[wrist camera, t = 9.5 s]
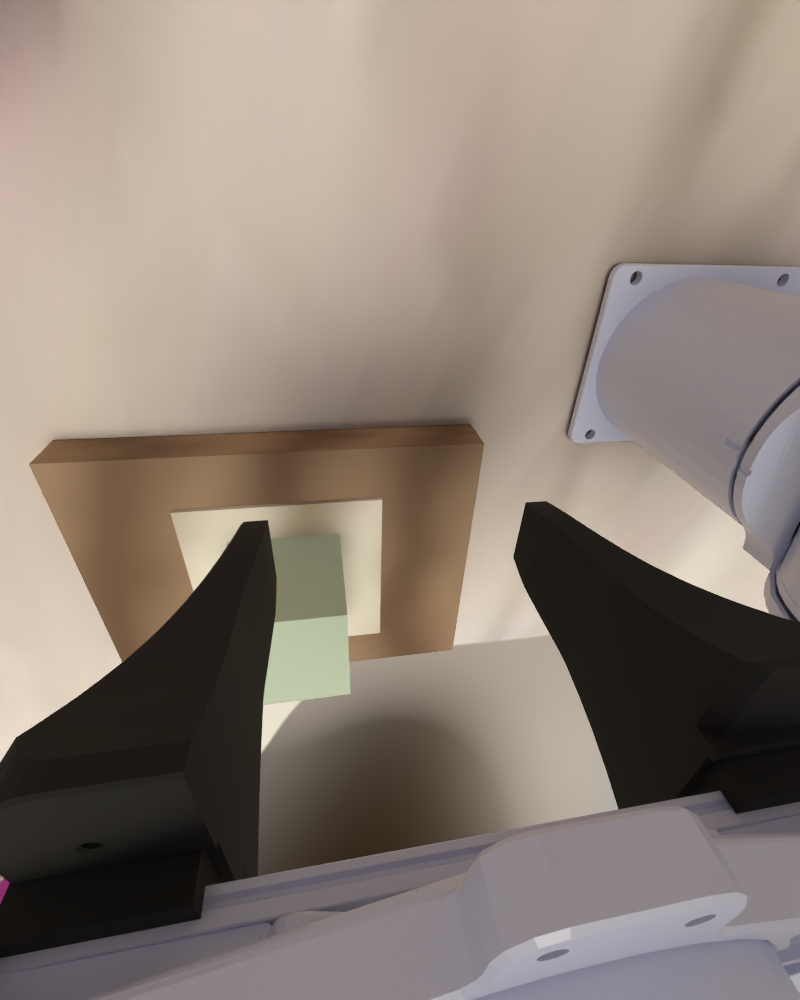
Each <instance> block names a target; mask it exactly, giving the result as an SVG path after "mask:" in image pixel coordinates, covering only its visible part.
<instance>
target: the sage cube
mask: <svg viewBox="0 0 800 1000" xmlns="http://www.w3.org/2000/svg"><path fill="white" fill-rule="evenodd" d="M229 543H230V542H227V546H228V544H229ZM271 543H272V550H273V557H274V563H275V570H276V576H277V590H276V614H275V621H274V628H273V635H272V642H271V649H270V655H269V662H268V669H267V676H266V682H265V690H264V699H263V705H267V704H275V703H283V702H291V701H298V700H306V699H313V698H322V697H329V696H337V695H345V694H350V672H349V645H348V619H347V606H346V596H345V585H344V575H343V564H342V554H341V544H340V534H328V535H314V536H301V537H287V538H273V539H271ZM227 546H226V547H227Z"/></svg>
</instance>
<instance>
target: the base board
mask: <svg viewBox="0 0 800 1000" xmlns="http://www.w3.org/2000/svg"><path fill="white" fill-rule="evenodd" d="M483 446H484V443H483V442H482V440H481V439H480V437H479V436H478V434H477V433H476V431H475V430H474V428H473V427H472V426H471V424H468V425H442V426H416V427H390V428H364V429H338V430H312V431H286V432H260V433H234V434H208V435H182V436H156V437H130V438H104V439H78V440H53V441H52V442H51V443H50V444H49V445H48V446H47V447H46V448H45V449H44V450H43V451H42V452H41V453H40V454H39V455H38V456H37V457H36V458H35V459H34V460H33V461H32V462H31V463H30V464H29V465H30V467H31V469H32V472H33V474H34V476H35V478H36V480H37V482H38V484H39V486H40V489H41V491H42V493H43V495H44V497H45V499H46V501H47V503H48V505H49V508H50V510H51V512H52V514H53V516H54V518H55V520H56V522H57V524H58V527H59V529H60V531H61V533H62V535H63V537H64V539H65V541H66V544H67V546H68V548H69V550H70V552H71V554H72V556H73V558H74V560H75V563H76V565H77V567H78V569H79V571H80V573H81V575H82V577H83V580H84V582H85V584H86V586H87V588H88V590H89V592H90V594H91V596H92V599H93V601H94V603H95V605H96V607H97V609H98V611H99V613H100V615H101V618H102V620H103V622H104V624H105V626H106V628H107V630H108V632H109V635H110V637H111V639H112V641H113V643H114V645H115V647H116V649H117V651H118V654H119V656H120V658H121V660H122V662H123V661H125V660H126V659H127V658H128V657H129V656H130V655H131V654H133V653H134V652H135V651H136V650H137V649H138V648H139V647H141V646H142V645H143V644H144V643H145V642H146V641H147V640H148V639H149V638H150V637H151V636H152V635H154V634H155V633H156V632H157V631H158V630H159V629H160V628H161V627H162V626H163V625H164V624H165V623H166V622H167V621H168V620H169V619H170V618H171V616H172V615H173V614H174V613H175V612H176V611H177V610H178V609H179V608H180V607H181V606H182V604H183V603H184V602H185V601H186V600H187V599H188V597H189V596H190V595H191V594H192V593H193V591H194V590H195V589H196V588H197V587H198V585H199V584H200V583H201V582H202V580H203V579H204V578H205V577H206V575H207V574H208V573H209V571H210V570H211V569H212V567H213V566H214V564H215V563H216V562H217V560H218V559H219V558H220V556H221V555H222V553H223V552H224V550H225V549H226V546H227V542H230V541H231V540H232V538H233V536H234V535H235V533H236V532H237V530H238V528H239V527H240V525H241V524H242V523H243V522H247V521H262V520H268V524H269V530H270V537H271V539H273V538H287V537H301V536H314V535H328V534H340V544H341V554H342V564H343V575H344V585H345V596H346V606H347V619H348V645H349V662H352V661H360V660H369V659H377V658H386V657H395V656H403V655H411V654H420V653H429V652H437V651H445V650H452V648H453V641H454V635H455V628H456V622H457V615H458V609H459V602H460V596H461V589H462V583H463V576H464V570H465V563H466V557H467V550H468V544H469V537H470V531H471V524H472V518H473V511H474V505H475V498H476V492H477V485H478V479H479V472H480V466H481V459H482V453H483Z"/></svg>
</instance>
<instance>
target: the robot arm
mask: <svg viewBox="0 0 800 1000" xmlns="http://www.w3.org/2000/svg"><path fill="white" fill-rule="evenodd" d="M634 272H636V273H637V276H636V278H635V280H634V281H633V282H632V283H630V277H631V275H632V274H633V273H634ZM780 276H781V279H780V281H779V282H778V283H777V281H778V279H779V278H780ZM589 430H591V432H590V433H589V434H588V435H586V436H585V434H586V432H587V431H589ZM568 437H569V439H570V440H571V441H572V442H574V443H578V444H579V443H600V442H621V441H634V442H635V443H637V444H638V445H639V446H641V447H642V448H643V449H644V450H646V451H647V452H648V453H650V454H651V455H652V456H653V457H655V458H656V459H657V460H659V461H660V462H661V463H662V464H664V465H665V466H666V467H668V468H669V469H670V470H671V471H673V472H674V473H675V474H677V475H678V476H679V477H680V478H682V479H683V480H684V481H686V482H687V483H688V484H689V485H691V486H692V487H693V488H695V489H696V490H697V491H698V492H700V493H701V494H702V495H704V496H705V497H706V498H707V499H709V500H710V501H711V502H713V503H714V504H715V505H716V506H718V507H719V508H720V509H722V510H723V511H724V512H725V513H727V514H728V515H729V516H731V517H732V518H733V519H734V520H736V521H737V522H738V523H740V524H741V525H743V527H744V529H745V532H746V539H745V543H744V546H743V549H744V550H745V551H747V552H748V553H749V554H750V555H752V556H753V557H754V558H755V559H756V560H758V561H759V562H760V563H761V564H762V565H764V566H765V567H766V568H767V569H768V570H770V573H769V574H768V577H767V579H766V581H765V586H764V598H765V603H766V606H767V609H768V611H769V613H770V614H769V613H766V612H763V611H760V610H757V609H754V608H751V607H748V606H745V605H742V604H739V603H737V602H734V601H731V600H729V599H726V598H723V597H721V596H718V595H716V594H713V593H711V592H708V591H706V590H704V589H701V588H699V587H696V586H694V585H692V584H689V583H687V582H685V581H683V580H680V579H678V578H676V577H674V576H672V575H670V574H668V573H666V572H664V571H662V570H660V569H658V568H656V567H654V566H652V565H650V564H648V563H646V562H644V561H643V560H641V559H639V558H637V557H635V556H634V555H632V554H630V553H628V552H627V551H625V550H623V549H621V548H620V547H618V546H617V545H615V544H613V543H612V542H610V541H608V540H607V539H605V538H603V537H602V536H600V535H599V534H597V533H596V532H594V531H592V530H591V529H589V528H588V527H586V526H585V525H583V524H582V523H580V522H579V521H577V520H575V519H574V518H572V517H571V516H569V515H568V514H566V513H565V512H563V511H561V510H560V509H558V508H557V507H555V506H553V505H552V504H550V503H548V502H546V501H543V502H528V503H526V504H525V509H524V513H523V517H522V522H521V526H520V530H519V535H518V539H517V544H516V548H515V552H514V560H515V563H516V566H517V569H518V571H519V574H520V577H521V579H522V582H523V584H524V587H525V589H526V591H527V593H528V595H529V596H530V598H531V600H532V602H533V604H534V606H535V608H536V609H537V611H538V613H539V615H540V617H541V619H542V620H543V622H544V624H545V626H546V628H547V629H548V631H549V633H550V635H551V637H552V639H553V640H554V642H555V644H556V646H557V648H558V649H559V651H560V653H561V655H562V657H563V659H564V661H565V663H566V665H567V668H568V670H569V672H570V675H571V677H572V680H573V682H574V685H575V687H576V689H577V692H578V694H579V697H580V699H581V702H582V704H583V707H584V710H585V712H586V715H587V717H588V720H589V722H590V725H591V728H592V730H593V733H594V736H595V739H596V742H597V745H598V748H599V750H600V753H601V756H602V759H603V762H604V765H605V768H606V770H607V774H608V777H609V780H610V783H611V787H612V790H613V793H614V796H615V799H616V802H617V806H618V810H613V811H608V812H603V813H597V814H592V815H587V816H581V817H575V818H570V819H565V820H559V821H554V822H549V823H543V824H538V825H532V826H527V827H522V828H516V829H511V830H505V831H500V832H494V833H489V834H484V835H479V836H473V837H468V838H462V839H457V840H451V841H447V842H441V843H435V844H430V845H424V846H419V847H414V848H408V849H403V850H397V851H392V852H387V853H381V854H376V855H370V856H365V857H360V858H354V859H349V860H343V861H338V862H333V863H327V864H322V865H317V866H311V867H306V868H301V869H295V870H290V871H285V872H279V873H274V874H268V875H263V876H258V828H259V791H260V760H261V736H262V715H263V699H264V690H265V682H266V676H267V669H268V662H269V655H270V649H271V642H272V635H273V628H274V621H275V614H276V590H277V576H276V570H275V563H274V557H273V550H272V543H271V537H270V530H269V524H268V520H262V521H247V522H243V523H242V524H241V525H240V527H239V528H238V530H237V532H236V533H235V535H234V536H233V538H232V540H231V541H230V543H229V544H228V546H227V547H226V549H225V550H224V552H223V553H222V555H221V556H220V558H219V559H218V560H217V562H216V563H215V564H214V566H213V567H212V569H211V570H210V571H209V573H208V574H207V575H206V577H205V578H204V579H203V580H202V582H201V583H200V584H199V585H198V587H197V588H196V589H195V590H194V591H193V593H192V594H191V595H190V596H189V597H188V599H187V600H186V601H185V602H184V603H183V604H182V606H181V607H180V608H179V609H178V610H177V611H176V612H175V613H174V614H173V615H172V616H171V618H170V619H169V620H168V621H167V622H166V623H165V624H164V625H163V626H162V627H161V628H160V629H159V630H158V631H157V632H156V633H155V634H154V635H152V636H151V637H150V638H149V639H148V640H147V641H146V642H145V643H144V644H143V645H142V646H141V647H139V648H138V649H137V650H136V651H135V652H134V653H133V654H131V655H130V656H129V657H128V658H127V659H126V660H125V661H123V662H122V663H121V664H120V665H119V666H117V667H116V668H115V669H114V670H112V671H111V672H110V673H108V674H107V675H106V676H105V677H103V678H102V679H101V680H99V681H98V682H97V683H95V684H94V685H93V686H91V687H90V688H89V689H87V690H86V691H85V692H83V693H82V694H81V695H79V696H78V697H76V698H75V699H74V700H72V701H71V702H69V703H68V704H66V705H65V706H63V707H62V708H60V709H59V710H57V711H56V712H54V713H53V714H51V715H50V716H48V717H47V718H46V719H44V720H43V721H41V722H40V723H38V724H37V725H35V726H34V727H32V728H31V729H29V730H27V731H26V732H24V733H23V734H21V735H20V736H18V737H16V739H15V740H14V742H13V743H12V745H11V747H10V748H9V750H8V751H7V753H6V754H5V756H4V758H3V759H2V761H1V762H0V875H1V876H2V877H3V878H4V879H6V880H7V881H8V882H9V885H8V888H7V890H6V892H5V895H4V897H3V899H2V902H1V904H0V1000H800V994H799V992H798V991H797V989H796V987H795V986H794V984H793V982H792V980H791V979H790V976H794V975H797V974H800V267H797V266H748V265H698V264H649V263H622V264H619V265H617V266H616V267H614V269H613V270H612V271H611V273H610V276H609V279H608V283H607V286H606V290H605V294H604V298H603V302H602V305H601V309H600V313H599V317H598V321H597V324H596V328H595V332H594V336H593V340H592V343H591V347H590V351H589V355H588V359H587V362H586V366H585V370H584V374H583V378H582V381H581V385H580V389H579V393H578V397H577V400H576V404H575V408H574V412H573V416H572V419H571V423H570V427H569V431H568Z"/></svg>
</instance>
